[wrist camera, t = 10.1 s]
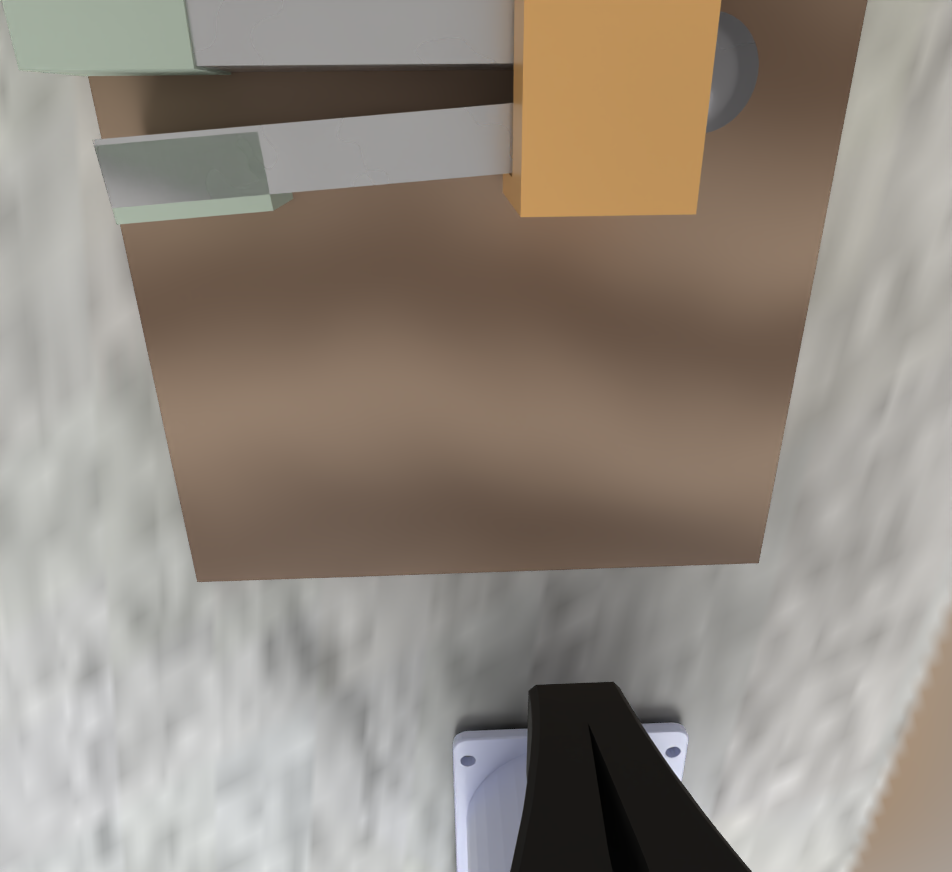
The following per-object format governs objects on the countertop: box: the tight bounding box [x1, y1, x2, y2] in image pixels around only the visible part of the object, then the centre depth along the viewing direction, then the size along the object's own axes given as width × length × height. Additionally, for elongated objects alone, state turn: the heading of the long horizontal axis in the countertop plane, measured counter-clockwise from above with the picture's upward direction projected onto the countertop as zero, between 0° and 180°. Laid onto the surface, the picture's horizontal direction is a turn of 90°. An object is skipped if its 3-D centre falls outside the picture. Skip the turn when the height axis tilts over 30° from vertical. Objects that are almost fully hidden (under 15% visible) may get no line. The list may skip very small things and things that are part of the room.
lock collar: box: [503, 0, 721, 217], centre depth 13 cm, size 4×3×4 cm
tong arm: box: [93, 103, 513, 225], centre depth 14 cm, size 2×10×2 cm, turn 95°
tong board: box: [1, 0, 867, 582], centre depth 16 cm, size 15×16×3 cm
